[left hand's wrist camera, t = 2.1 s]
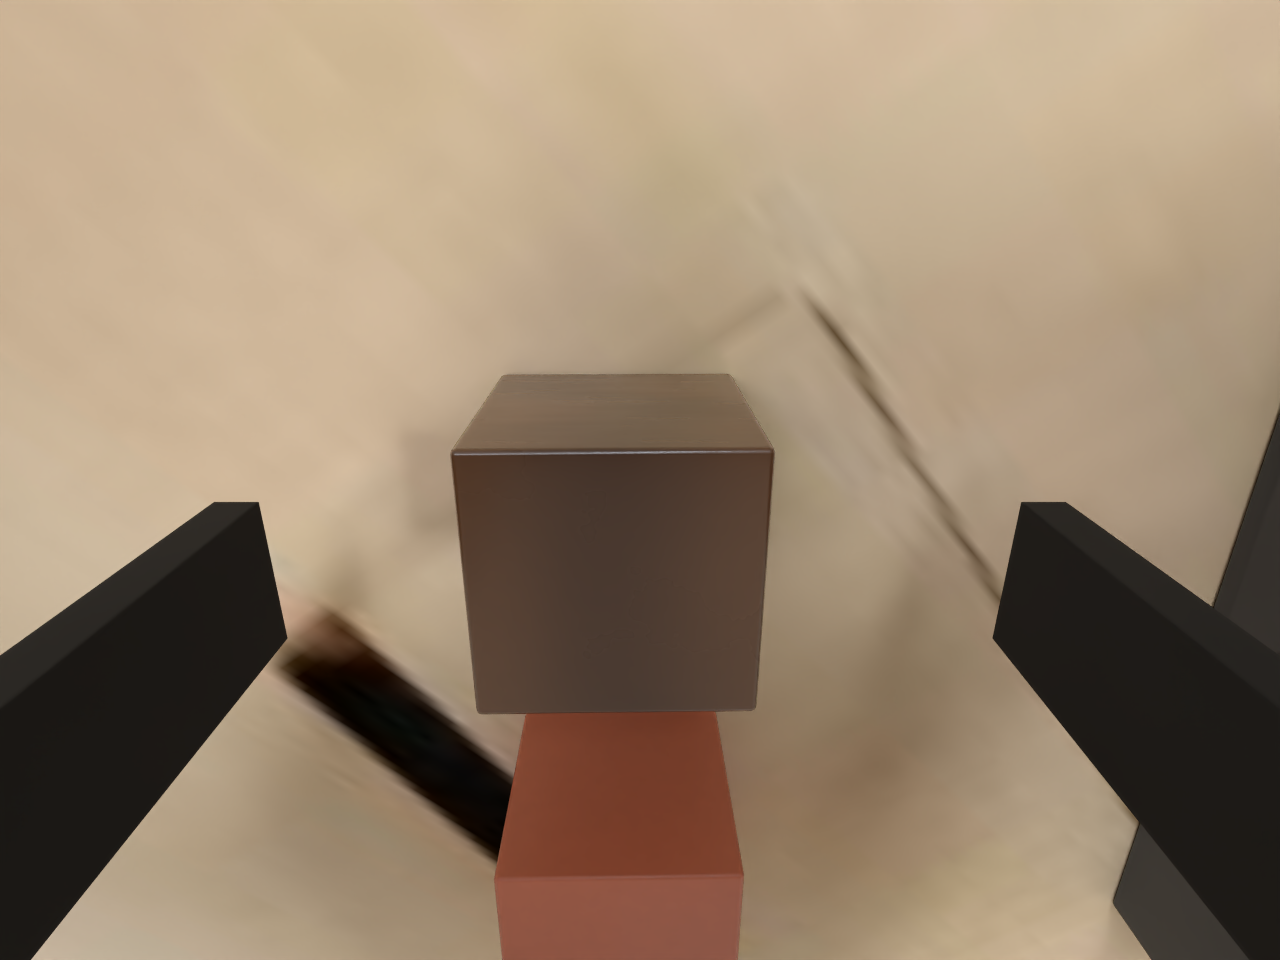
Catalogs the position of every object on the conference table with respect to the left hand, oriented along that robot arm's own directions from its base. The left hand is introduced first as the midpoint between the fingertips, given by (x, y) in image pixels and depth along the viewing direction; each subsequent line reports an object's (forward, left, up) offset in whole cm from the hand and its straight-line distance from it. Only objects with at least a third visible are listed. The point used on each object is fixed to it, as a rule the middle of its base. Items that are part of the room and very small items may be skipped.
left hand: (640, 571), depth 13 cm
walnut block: (0, 0, -4) cm, 4 cm away
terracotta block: (0, -9, -4) cm, 10 cm away
